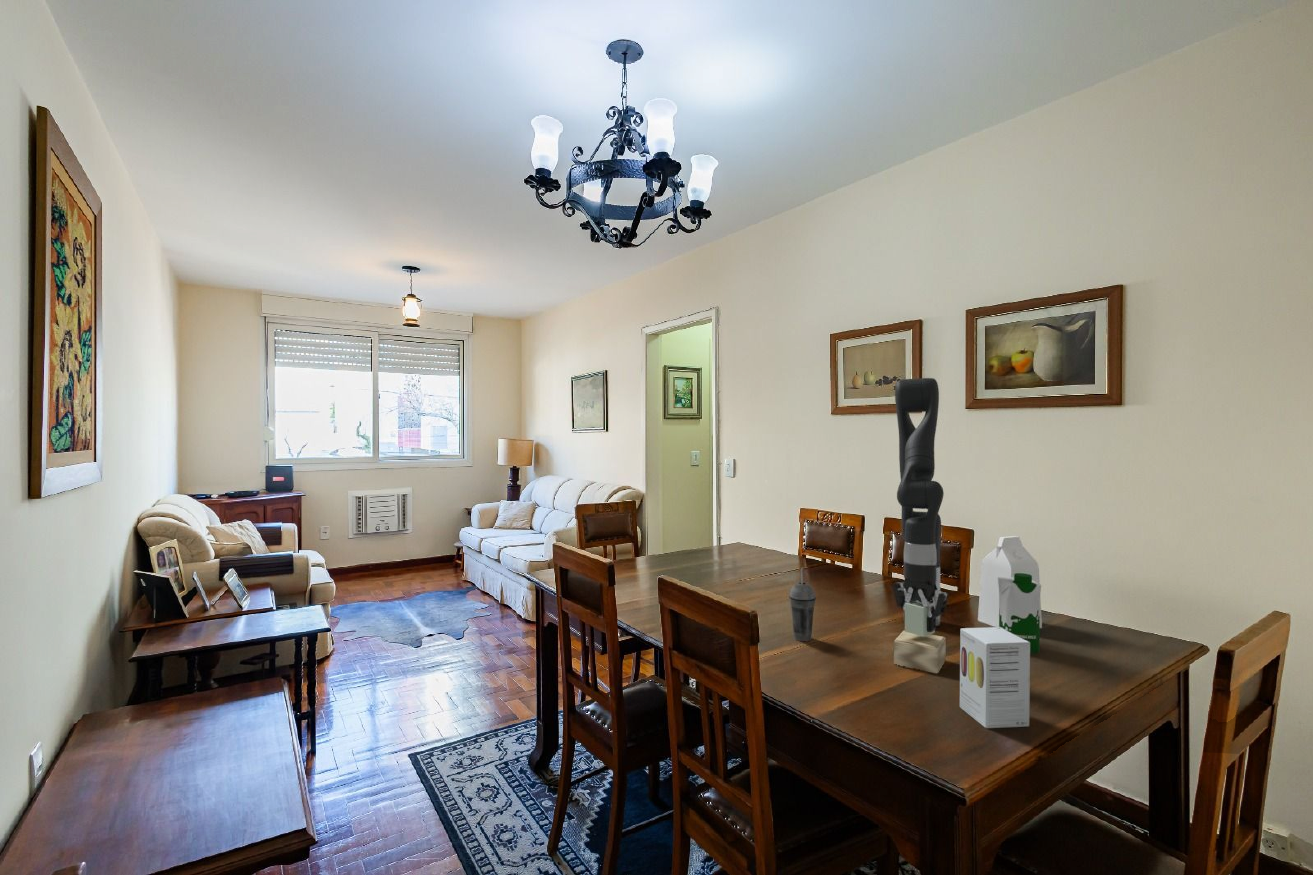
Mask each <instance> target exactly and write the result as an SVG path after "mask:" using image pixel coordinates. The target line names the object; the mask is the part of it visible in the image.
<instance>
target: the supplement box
mask: <svg viewBox="0 0 1313 875" xmlns="http://www.w3.org/2000/svg"><path fill="white" fill-rule="evenodd" d="M959 632H960V634H959V635H960V637H959V639H960V640H959V642H960V645H959V646H960V647H959V648H960V649H959V653H960V654H959V708H960V709H961V710H963V711H964V712H965V713H966V714H968V715H969V716H970V717H971V718H973V719H974V720H975V721H976V722H977V723H979V724H980V725H981V726H982V727H984V728H985V729H1001V728H1003V729H1004V728H1019V727H1020V728H1022V727H1024V728H1025V727H1030V701H1031V698H1030V696H1031V695H1030V693H1031V692H1030V690H1031V689H1030V681H1031V680H1030V677H1031V675H1030V674H1031V673H1030V671H1031V653H1030V642H1028V641H1026V640H1024V639H1022V638H1020V637H1018V636H1016V635H1014V634H1012V633H1010V632H1008V631H1006V630H1005V629H1003V628H1001V627H994V626H991V627H990V626H989V627H965V628H964V627H963V628H960V631H959Z"/></svg>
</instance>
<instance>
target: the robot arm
mask: <svg viewBox="0 0 1313 875" xmlns="http://www.w3.org/2000/svg"><path fill="white" fill-rule="evenodd" d="M939 391H940V389H939V385H938V382H937V380H936V379H935V378H933V377H932V378H931V377H924V378H923V377H921V378H905V379H899V380H897V381H896V383H895V387H894V399H895V401H894V402H895V410H896V418H897V426H898V453H899V454H898V461H899V475H900V482H899V485H898V488H897V491H896V500H897V502H898V504H899V505H900V506H901V522H900V523H901V524H900V525H901V536H902V538H903V540H904V545H903V546H904V547H903V578H904V580H903V582H901V581H898V582H894V583H892V587H893V594H894V598H895V603H896V606H897V607H898V608H901V609H902V610H903V621H904V623H905V603H912V602H915V601H919V602H921V603H922V604H923V607H926V608H927V616H928V617H927V632H933V631H934V630H936V628H937V627H938V626H940V625H941V616H944V614H945V612H946V607H947V604H948V600H949V596H950V594H949V593H948V592H947V591H944V592H943V591H941V537H942V536H941V535H942V519H941V516H940V514H939V512H940V509H941V506H942V502H943V499H944V496H945V495H944V494H945V493H944V488H943V486H942V484H941V483H940V482H938V481H937V480H933V478H934V476H935V469H936V468H935V463H936V462H935V440H936V433H937V432H936V431H937V426H938V424H937V423H938V415H939V402H940V392H939ZM920 412H921V413H922V412H925V414H924V415H923V416H924V417H923V418H922V420H921V421H920V423H919V424H918V426H917V427H915V425H914V423H913V420H912V418H911V417H910V413H920ZM914 509H917V510H920V509H921V510H927V511H915V510H914Z"/></svg>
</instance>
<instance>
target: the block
mask: <svg viewBox="0 0 1313 875" xmlns="http://www.w3.org/2000/svg"><path fill="white" fill-rule="evenodd" d="M927 617H928V616H927V608H926V607H923V604H922V603H921V602H919V601H915V602H912V603H905V622H904V630H905V632H909V633H912V634H916V635H919V636H923V637H924V636H927V635H930V634H931V635H934V634H935V633H936V631H935V630H936V629H935V630H934V631H933V632H927Z"/></svg>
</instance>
